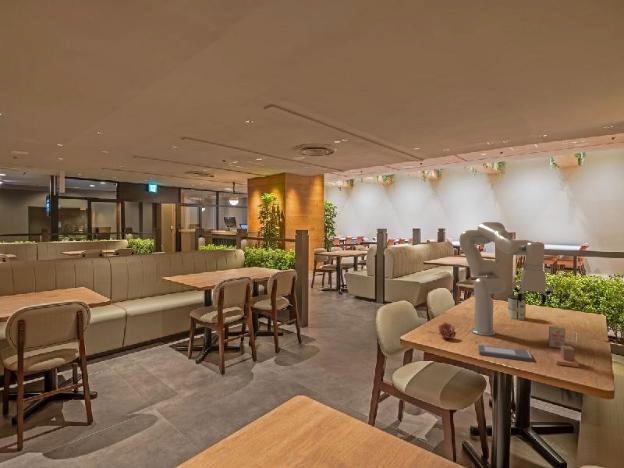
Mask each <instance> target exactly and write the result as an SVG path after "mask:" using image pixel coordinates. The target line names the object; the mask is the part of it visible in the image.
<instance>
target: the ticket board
mask: <svg viewBox="0 0 624 468" xmlns="http://www.w3.org/2000/svg"><path fill="white" fill-rule="evenodd" d="M477 347H478V354H479V355H480V356H488V357H492V358H493V357H494V358H501V359H502V358H503V359H510V360H517V361H525V362H531V363H532V362H534V358H533V356H532V354H531V353H530V350H524V349H523V350H522V349H515V348H507V347H500V346H499V347H498V346H491V345H483V344H482V345H481V344H478V346H477Z"/></svg>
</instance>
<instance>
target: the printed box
mask: <svg viewBox="0 0 624 468" xmlns="http://www.w3.org/2000/svg"><path fill="white" fill-rule="evenodd" d="M548 328H549V329H548V347H550V348H555V349H561V345H562V346H566V340H565V339H566V332H565V331H566V328H564V327H558V326H548Z"/></svg>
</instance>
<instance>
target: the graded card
mask: <svg viewBox="0 0 624 468" xmlns="http://www.w3.org/2000/svg"><path fill="white" fill-rule="evenodd" d="M566 332H567V333H568V332H569V331H567V330H565V333H566ZM571 333H572V334H576V337H575V339H576V340H574V342H575V343H577V342H578V333H577V332H573V331H571ZM565 341H567V339H566V338H565ZM569 341H570V342H573V340H572V339H571V340H570V339H568V342H569Z"/></svg>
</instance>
